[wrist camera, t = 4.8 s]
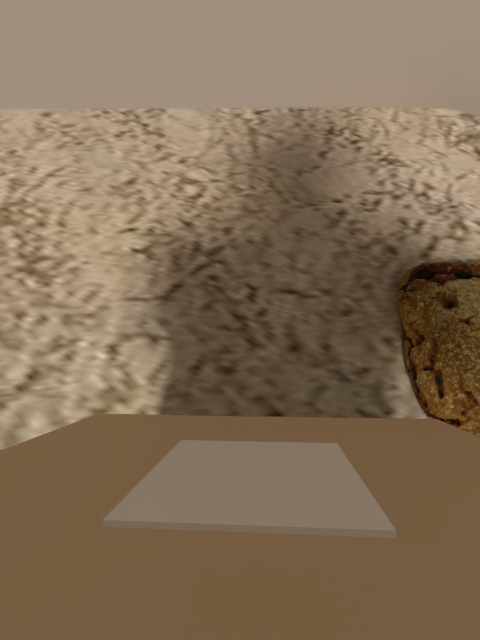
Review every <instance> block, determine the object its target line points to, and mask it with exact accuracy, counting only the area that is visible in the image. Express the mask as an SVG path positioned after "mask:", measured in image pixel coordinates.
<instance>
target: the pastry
mask: <svg viewBox="0 0 480 640" xmlns="http://www.w3.org/2000/svg"><path fill="white" fill-rule="evenodd" d="M398 307H399V312H400V315H401V320H402V323H403V325H402V327H403V331H405V334H406V337H407V339H406V340H405V344H404V353H405V361H406V368H407V374H408V376H409V378H410V379H411V380H412V384H413V389H414V391H415V394H416V397H417V400H418V402H419V404H420V406H421V409H422V410H423V411H424V412H425V414H426V415H427V416H428V417H431V418H435V419H438V420H440V421H443V422H445V423H447V424H450V425H452V426H454V427H457V428H459V429H461V430H464V431H466V432H468V433H471V434H473V435H475V436H478V437H480V262H478V263H474V264H471V265H470V264H469V263H451V262H427V263H422V264H421V265H419V266H417V267H413V268H412V269H411V270H408V271H407V272H406V274H405V275H404V277H403V278H402V279H401V281H400V284H399V288H398Z"/></svg>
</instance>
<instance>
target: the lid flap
mask: <svg viewBox="0 0 480 640" xmlns="http://www.w3.org/2000/svg"><path fill="white" fill-rule="evenodd" d="M0 640H480V437H478V436H475V435H473V434H471V433H468V432H466V431H464V430H461V429H459V428H457V427H454V426H452V425H450V424H447V423H445V422H443V421H440V420H438V419H396V418H331V417H266V416H202V415H137V414H97V415H94V416H91V417H89V418H86V419H83V420H81V421H78V422H75V423H73V424H70V425H68V426H65V427H62V428H60V429H57V430H54V431H52V432H49V433H46V434H44V435H41V436H38V437H36V438H33V439H31V440H28V441H25V442H23V443H20V444H17V445H15V446H12V447H9V448H7V449H4V450H1V451H0Z"/></svg>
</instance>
